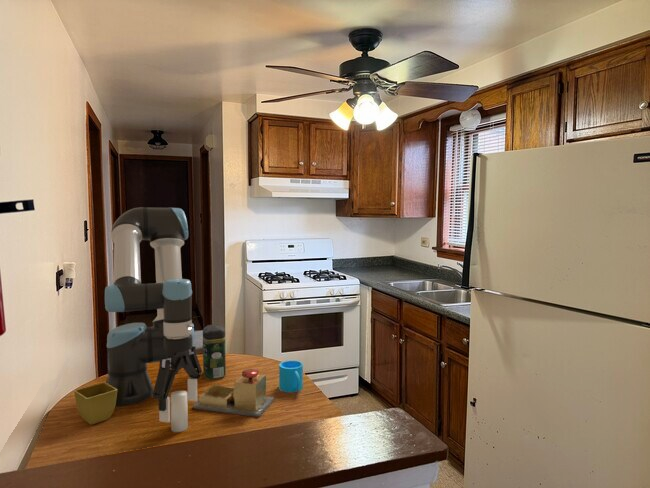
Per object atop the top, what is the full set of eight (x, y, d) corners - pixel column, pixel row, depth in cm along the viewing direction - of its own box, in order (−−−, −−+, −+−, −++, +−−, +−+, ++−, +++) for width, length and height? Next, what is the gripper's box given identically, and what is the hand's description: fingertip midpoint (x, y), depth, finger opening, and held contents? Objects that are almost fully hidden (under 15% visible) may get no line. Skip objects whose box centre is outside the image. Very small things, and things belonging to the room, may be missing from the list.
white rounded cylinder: (168, 430, 122) (167, 396, 121) (177, 423, 126) (176, 389, 125) (182, 433, 121) (181, 397, 120) (190, 425, 125) (190, 391, 124)
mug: (276, 385, 154) (276, 362, 154) (297, 381, 158) (297, 359, 157) (287, 398, 143) (287, 374, 143) (310, 394, 147) (310, 370, 146)
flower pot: (105, 409, 134) (104, 381, 133) (119, 418, 128) (118, 389, 128) (74, 420, 127) (73, 390, 126) (87, 430, 122) (86, 398, 121)
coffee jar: (201, 372, 165) (201, 324, 164) (222, 369, 168) (222, 322, 167) (205, 381, 156) (204, 330, 155) (227, 378, 160) (227, 328, 158)
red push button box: (193, 408, 136) (192, 373, 135) (212, 392, 147) (212, 360, 146) (259, 417, 130) (259, 381, 129) (274, 400, 142) (274, 367, 141)
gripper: (162, 349, 108) (164, 433, 109) (212, 325, 132) (213, 394, 134) (136, 347, 110) (138, 429, 111) (190, 324, 134) (191, 391, 135)
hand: (179, 410), depth 122 cm, fingers open, 13 cm apart
